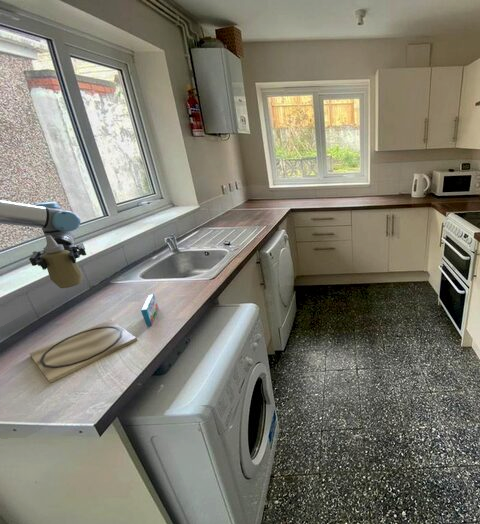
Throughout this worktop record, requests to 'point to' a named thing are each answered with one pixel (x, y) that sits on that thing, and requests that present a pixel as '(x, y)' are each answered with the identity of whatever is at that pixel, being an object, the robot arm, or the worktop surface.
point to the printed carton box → (150, 310)
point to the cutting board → (81, 349)
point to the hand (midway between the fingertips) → (58, 262)
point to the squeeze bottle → (61, 265)
